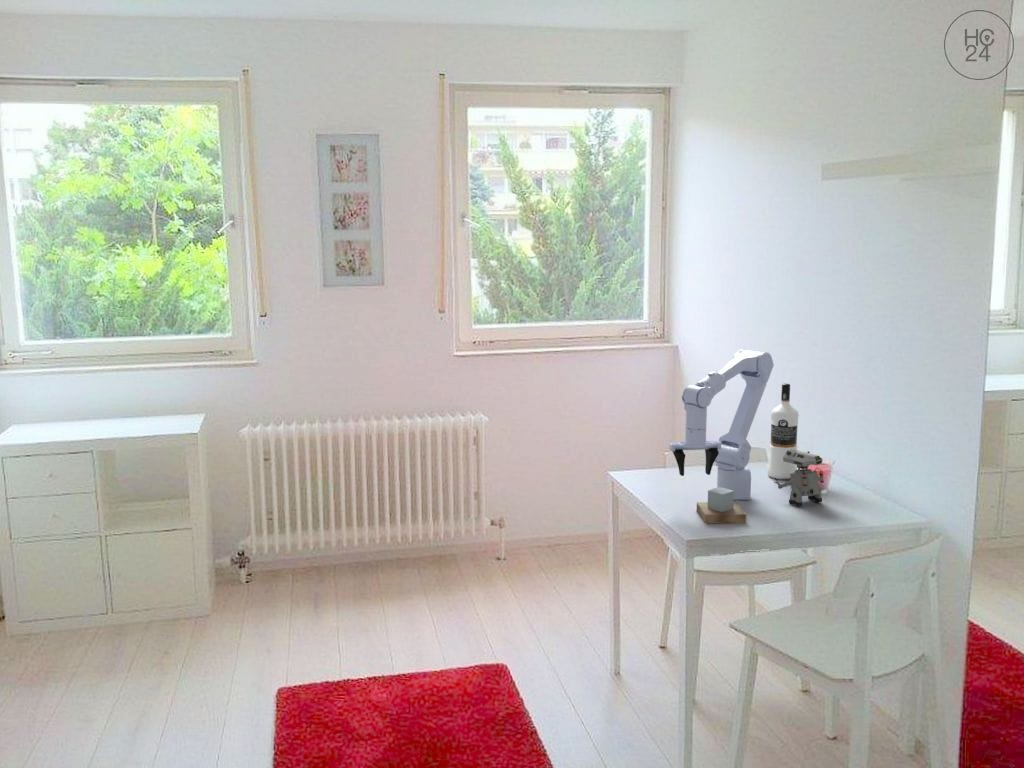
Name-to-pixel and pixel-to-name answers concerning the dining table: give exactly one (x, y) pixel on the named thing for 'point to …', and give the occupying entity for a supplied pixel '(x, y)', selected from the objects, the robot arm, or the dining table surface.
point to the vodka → (783, 436)
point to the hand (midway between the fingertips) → (694, 474)
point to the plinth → (721, 514)
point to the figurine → (803, 477)
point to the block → (720, 499)
